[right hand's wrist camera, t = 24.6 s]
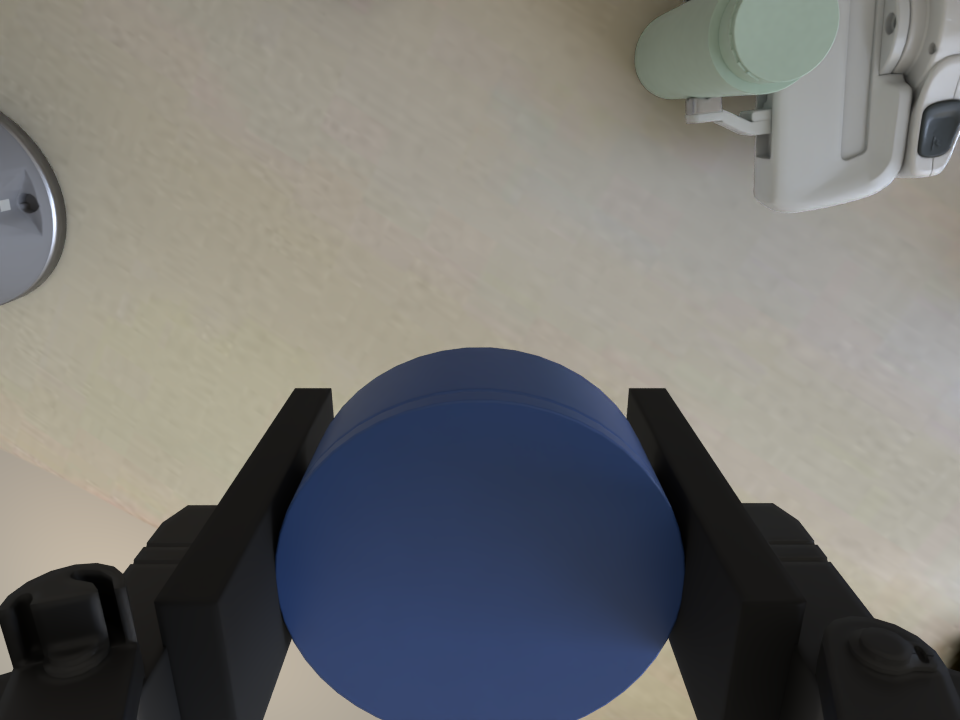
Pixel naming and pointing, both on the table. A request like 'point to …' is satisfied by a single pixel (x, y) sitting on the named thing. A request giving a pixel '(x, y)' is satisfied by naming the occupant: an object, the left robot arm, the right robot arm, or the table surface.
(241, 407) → the table surface
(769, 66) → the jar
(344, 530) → the lid
